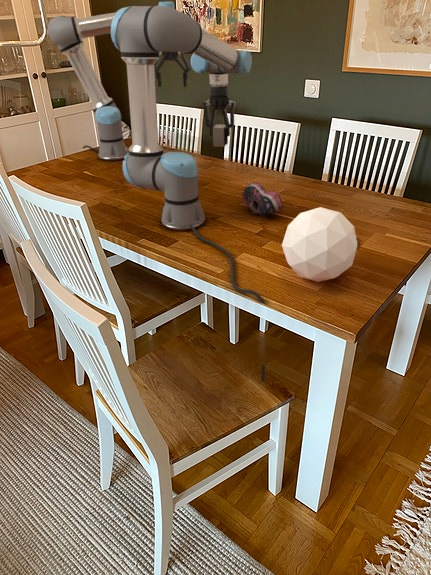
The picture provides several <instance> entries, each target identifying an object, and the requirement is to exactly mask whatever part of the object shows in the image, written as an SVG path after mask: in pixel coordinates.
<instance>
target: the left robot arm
mask: <svg viewBox="0 0 431 575" xmlns="http://www.w3.org/2000/svg"><path fill="white" fill-rule="evenodd" d="M157 6H167V7H170V8H173V9H175V10H176V8H175V3H174V1H159V2H158V4H157ZM116 12H117V11H115V12H110V13H109V12H108V13H104V14H97V15H92V16H85V17H80V18H78V17H76V16H65V15H59V16H55V17H53V18H51V19H50V20H49V22H48V24H47V34H48V36H49V38H50V40H51V41H52V42H53V43H54V44H55V45H56V46H57V48H58V49H59V51H60V53H61V54H62V55H65V56H66V57H67V59H68V61H69V63H70V65H71V66H72V68H73V70H74V72H75V74H76V76H77V78H78V80H79V82H80V83H81V85H82V88H83V89H84V90H85V93H86V94H87V96H88V98H89V100H90V102H91V104H92V107H91V110H92V112H93V113H94V115H95V119H96V126H97V132H98V139H99V148H96V147H92V146H90V145H88V144H87V145H85V144H84V146H83V147H82V149H86V148H88V149H89V150H92V151H96V152H97V153H98V159H99V160H101V161H102V162H103V161H104V162H116V161H123V160H125V159H124V158H125V156H126V154H128V153H129V148H128V146H126V144H125V141H124V135H123V134H124V133H123V127H122V113H121V111H120V109H119V108H118V107H117V105H116V103H115V101H114V99H113V98H112V97H109V96H108V94H107V92H106V90H105V88H104V86H103V84H102V83H101V80H100V79H99V76H98V75H97V73H96V71H95V69H94V67H93V65H92V63H91V61H90V59H89V57H88V54H86V52H85V50H84V48H83V47H84V39H87V38H93V37H98V36H104V35H109V34H110V35H111V23H112V20H113V17H114V16H115V15H116ZM178 55H179V56H180V58H181V60H180V58H179V57H178ZM185 55H186V54H184V53H181V52H171V51H166V52H159V59H158V60H157V61H156V63H155V80H157V86H158V88H160V87H162V76H161V75H162V74H161V72H160V71H161V69H162V68H163V66H164V65H165V62H168V61H171V62H172V61H175V62H176V63H177V65H178V66H179V67H180V69H181V70H182V79H183V80H182V81H183V88H186V87H187V83H188V82H187V80H189V72H191V71H192V67H191V64H190V63H189V60H188V59H187V57H186V56H185ZM161 56H163V57H162V58H161ZM160 58H161V61H160V62H159V60H160Z"/></svg>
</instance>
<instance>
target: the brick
mask: <svg viewBox="0 0 431 575" xmlns="http://www.w3.org/2000/svg"><path fill="white" fill-rule="evenodd" d="M225 128H226V125H225V124H220V123H219V124H217V123H216V124H214V126H213V144H212V147H213V148H214V147H215V148H225V146H226V145H225V131H224V129H225Z"/></svg>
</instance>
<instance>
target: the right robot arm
mask: <svg viewBox="0 0 431 575" xmlns="http://www.w3.org/2000/svg"><path fill="white" fill-rule="evenodd" d="M115 12H116V15H115V16H114V17H113V20H112V23H111V33H110V37H111V41H112V43H113V44H114V47H115V48H116V49H117V50H118V51H120V58H121V59H122V61H123V62H125V64H126V73H127V74H126V75H127V86H128V88H127V89H128V102H129V115H130V128H131V141H132V143H131V145H130V146H129V147H128V152H129V153H128V154H126V156H125V158H124V159H123V160H122V174H123V176H124V178H125V180H126V181H127V182H128V183H129V184H130V185H132V186H134V187H137V188H140V189H147V190H152V191H157V192H163V194H164V204H163V207H162V213H161V219H160V220H161V225H162V227H163V228H165V229H167V230H170V231H175V232H176V231H177V232H185V231H186V232H187V231H192V232H193V233H194V235H195V236H196V237H197V238H198V239H200V240H201V241H203V242H205V243H207V244H209V245H211V246H213V247H215V248H216V249H218V250H220V251H221V252H222V253H224V254H226V255H227V257H228V258H229V260H230V271H231V278H230V279H231V284H232V286H233V288H234V289H235V290H236V291H238V292H240V293H245V294H250V295H252V296H255V297H256V298H257V299H258V300H259V302H260V303H261V304H264V303H265V300H264V298H263V297H262V295H261V294H259V293H258V292H257V291H255V290H252V289H246V288H241V287H240V286H238V285H237V283H236V272H235V260H234V258H233V255H232V254H231V253H230V252H229V251H228V250H227V249H225V248H223V247H221V246H220V245H219V244H217V243H215V242H213V241H211V240H209V239H207V238H204V237H203V236H201V235H200V234H199V232H198V231H197V229H198V228H201V227H202V226H203V225H204V224H205V223H206V217H205V212H204V210H203V208H202V204H201V202H200V196H199V175H198V174H199V170H198V164H197V163H198V162H197V160H196V158H195V157H194V156H193V155H191V154H189V153H186V152H184V151H183V152H181V151H168V152H164V147H162V145H161V144H160V143H159V128H158V109H157V107H158V106H157V90H156V89H157V88H156V73H155V63H156V61H157V60H158V59H159V60H160V58H159V52H166V51H171V52H181V53H184V55H191V57H190V67H191V70H193V71H194V72H195V73H197V74H206V73H208V76H209V77H208V78H209V80H208V81H209V85H210V86H209V98H208V100H205V101H203V102H202V105H203V108H204V126H205V127H206V128H208V129H209V136H210V137H211V143H212V145H213V127H214V126H215V120H216V116H217V111H218V110H219V111H221V113H222V116H223V120H224V125H226V128H225V129H224V131H225V146H227V145H228V143H229V138H228V137H230V136H231V129H232V128H233V127H234V126H235V106H236V101H235V100H231V99H230V97H229V86H228V84H229V74H238V75H246V74H248V73H249V72H250V71H251V68H252V64H253V57H252V54H251V52H250V51H249V50H244V49H241V50H239V49H237V48H235V47H233V46H231V45H229V44H228V43H227V42H226V41H224V40H221V39H219V37H216V36H215V35H214V34H211V33H210V32H208V31H207V30H205V29H204V28H202V25H201V24H200V22H199V21H197V20H196V19H194V17H191V16H190V15H188V14H186V13H185V12H184V13H183V12H182V11H181V10H177V9H176V8H175V9H173V8H170V7H167V6H158V5H143V6H142V5H130V6H126V7H121V8H119V9H118V10H117V11H115ZM210 105H211V107H212V111H211V116H210ZM227 106H229V116H228V111H227ZM265 379H266V365H264V364H261V382H262V383H264V382H265V381H266V380H265Z"/></svg>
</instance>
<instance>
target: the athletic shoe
mask: <svg viewBox="0 0 431 575" xmlns="http://www.w3.org/2000/svg"><path fill="white" fill-rule="evenodd" d="M241 197H242V199H243V201H238V203H239V204H241V205H245V206H246V207H247V208H248V210H249V211H250V210H251V213H252V214H255V215H260V217H266V216H267V215H270V214H274V213H275V212H279V211H282V210H283V209H284V205H283V201H282V198H281V196H280V195H279V194H278V192H277V191H274V190H269V191H267V190H266V189H265V187H264V186H263V185H262V184H261V183H258V182H251V183H249V184H247V186H246V187H245V188H244V190H243V191H242V192H241Z"/></svg>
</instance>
